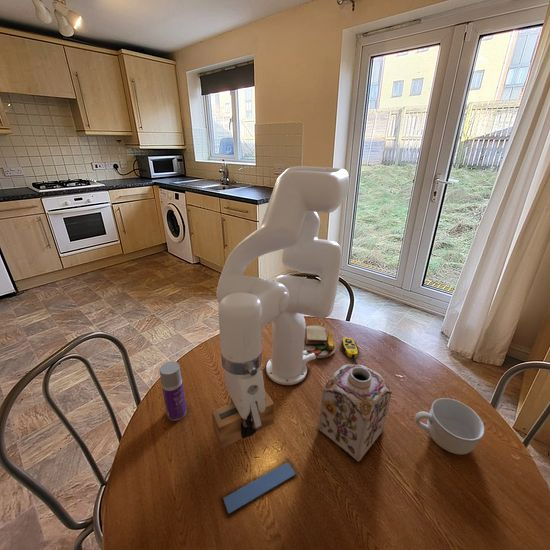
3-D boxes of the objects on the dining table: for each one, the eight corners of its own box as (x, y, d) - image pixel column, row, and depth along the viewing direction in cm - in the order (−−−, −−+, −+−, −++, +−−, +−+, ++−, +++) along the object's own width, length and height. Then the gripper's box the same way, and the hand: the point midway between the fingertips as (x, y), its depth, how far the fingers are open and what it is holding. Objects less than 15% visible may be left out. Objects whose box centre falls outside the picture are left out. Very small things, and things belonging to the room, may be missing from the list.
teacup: (468, 428, 73) (477, 404, 70) (480, 469, 64) (492, 445, 60) (408, 411, 77) (414, 389, 74) (411, 448, 68) (419, 424, 64)
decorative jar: (343, 402, 79) (352, 349, 72) (383, 430, 72) (398, 374, 64) (315, 429, 71) (322, 373, 64) (357, 464, 64) (371, 405, 56)
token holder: (264, 408, 67) (264, 388, 64) (273, 423, 63) (274, 403, 61) (213, 431, 61) (211, 410, 59) (220, 448, 58) (218, 427, 55)
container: (180, 422, 72) (173, 376, 66) (163, 418, 73) (154, 373, 67) (189, 407, 77) (183, 362, 70) (173, 404, 77) (165, 359, 71)
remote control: (353, 336, 103) (366, 366, 90) (353, 341, 104) (365, 370, 90) (340, 336, 103) (350, 365, 89) (339, 340, 104) (350, 370, 90)
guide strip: (288, 462, 64) (288, 461, 64) (295, 475, 62) (295, 474, 62) (223, 499, 57) (222, 498, 57) (228, 514, 55) (228, 513, 55)
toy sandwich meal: (298, 357, 95) (298, 346, 93) (300, 333, 107) (301, 322, 105) (336, 362, 94) (338, 350, 92) (334, 336, 106) (336, 325, 104)
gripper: (282, 379, 49) (279, 450, 57) (242, 328, 63) (244, 391, 70) (241, 396, 46) (243, 469, 54) (208, 338, 59) (214, 403, 67)
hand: (243, 424), depth 62 cm, fingers closed on token holder, 4 cm apart
